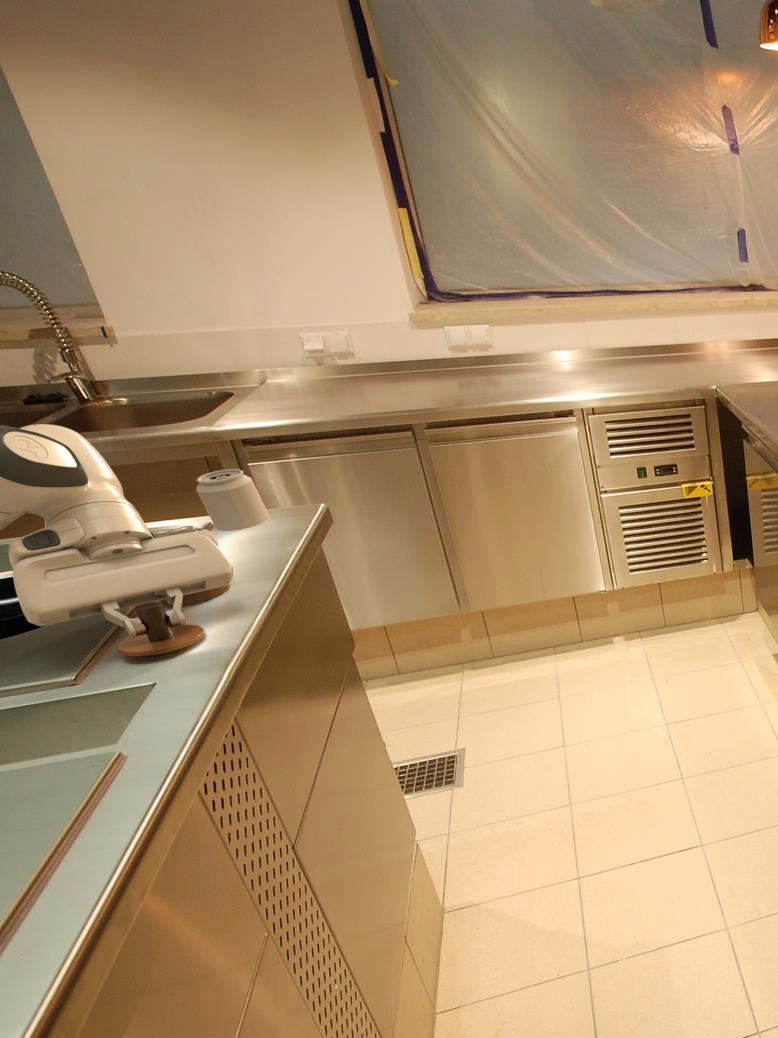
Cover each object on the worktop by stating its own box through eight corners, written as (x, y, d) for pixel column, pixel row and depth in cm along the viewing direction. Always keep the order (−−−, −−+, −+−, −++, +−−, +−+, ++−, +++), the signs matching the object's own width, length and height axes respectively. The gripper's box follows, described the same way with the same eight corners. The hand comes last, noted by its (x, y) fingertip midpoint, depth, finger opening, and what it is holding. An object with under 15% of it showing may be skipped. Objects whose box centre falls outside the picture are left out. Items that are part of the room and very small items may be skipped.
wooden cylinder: (173, 617, 116) (149, 559, 113) (155, 604, 120) (132, 547, 117) (241, 600, 122) (221, 545, 119) (222, 588, 126) (202, 534, 123)
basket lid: (134, 666, 103) (115, 624, 101) (111, 649, 107) (93, 608, 105) (217, 643, 109) (201, 603, 107) (193, 627, 114) (177, 588, 111)
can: (273, 527, 150) (242, 463, 143) (282, 540, 145) (250, 474, 139) (221, 540, 145) (187, 474, 139) (229, 553, 141) (194, 486, 134)
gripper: (205, 535, 118) (254, 616, 117) (-4, 573, 102) (52, 667, 101) (206, 510, 114) (258, 593, 113) (-11, 545, 98) (47, 643, 97)
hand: (159, 629), depth 107 cm, fingers open, 3 cm apart
